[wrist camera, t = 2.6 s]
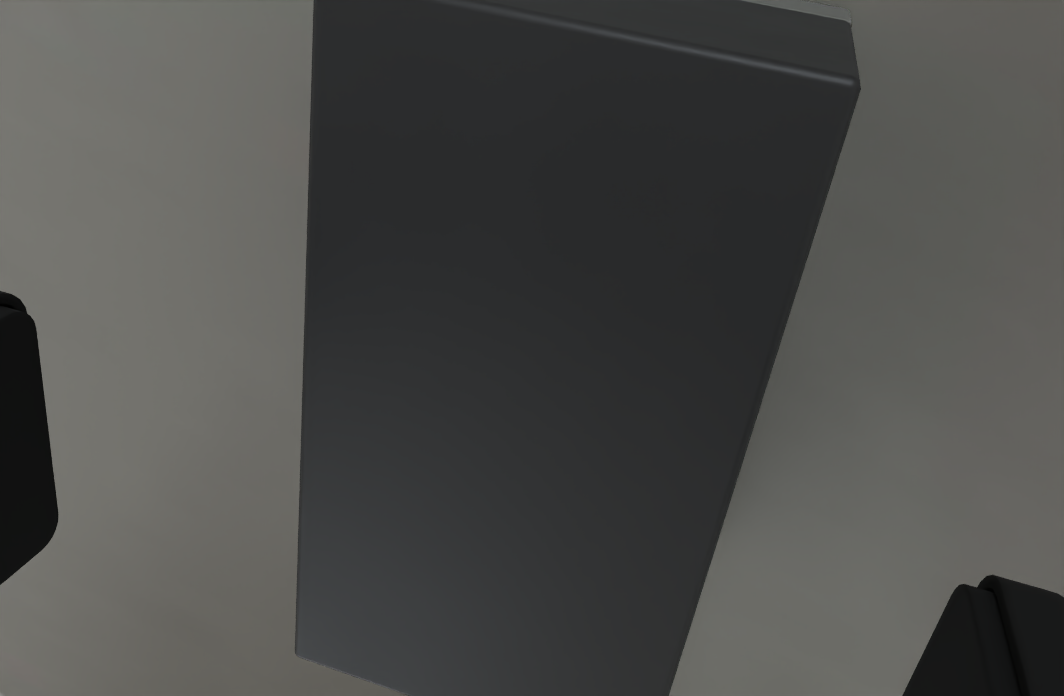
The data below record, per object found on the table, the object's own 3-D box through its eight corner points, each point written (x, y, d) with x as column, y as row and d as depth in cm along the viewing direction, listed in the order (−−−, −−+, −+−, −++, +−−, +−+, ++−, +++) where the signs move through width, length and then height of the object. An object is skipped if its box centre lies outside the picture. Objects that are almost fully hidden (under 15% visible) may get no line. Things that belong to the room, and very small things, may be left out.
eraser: (484, -61, 13) (311, -33, 8) (850, 8, 12) (864, 79, 8) (426, 463, 17) (292, 658, 13) (691, 542, 16) (642, 780, 12)
